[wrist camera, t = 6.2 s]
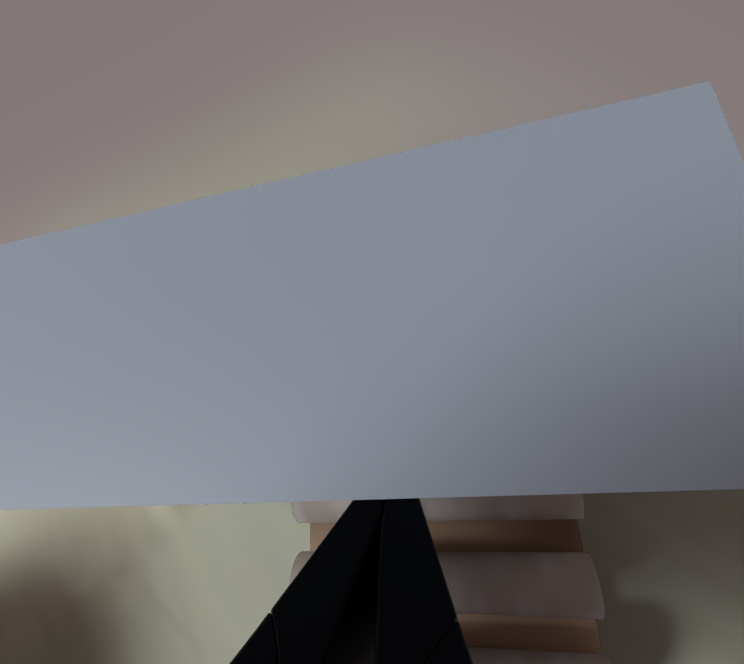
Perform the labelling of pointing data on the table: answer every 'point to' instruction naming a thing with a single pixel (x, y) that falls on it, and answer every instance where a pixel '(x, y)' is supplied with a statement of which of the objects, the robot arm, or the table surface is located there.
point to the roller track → (509, 543)
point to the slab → (397, 327)
